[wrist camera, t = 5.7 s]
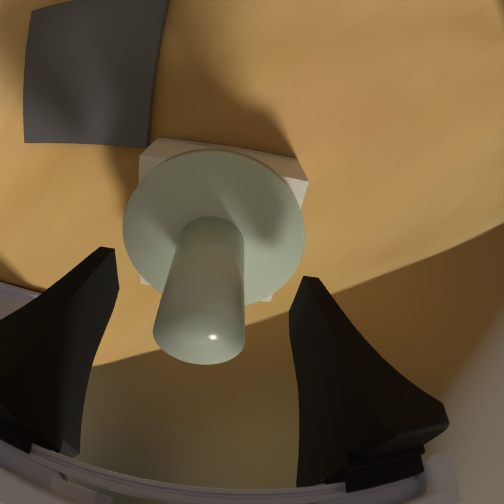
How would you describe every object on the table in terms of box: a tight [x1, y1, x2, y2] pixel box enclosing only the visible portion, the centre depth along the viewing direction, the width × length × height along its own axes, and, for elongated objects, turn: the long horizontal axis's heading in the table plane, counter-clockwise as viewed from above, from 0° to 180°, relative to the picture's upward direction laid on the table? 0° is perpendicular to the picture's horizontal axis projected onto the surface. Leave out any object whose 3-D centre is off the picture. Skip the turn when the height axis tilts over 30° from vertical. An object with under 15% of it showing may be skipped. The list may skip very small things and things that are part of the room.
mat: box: [23, 0, 170, 148], centre depth 11 cm, size 8×8×1 cm
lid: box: [123, 148, 305, 364], centre depth 11 cm, size 8×8×6 cm
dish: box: [138, 137, 309, 302], centre depth 15 cm, size 7×7×3 cm
